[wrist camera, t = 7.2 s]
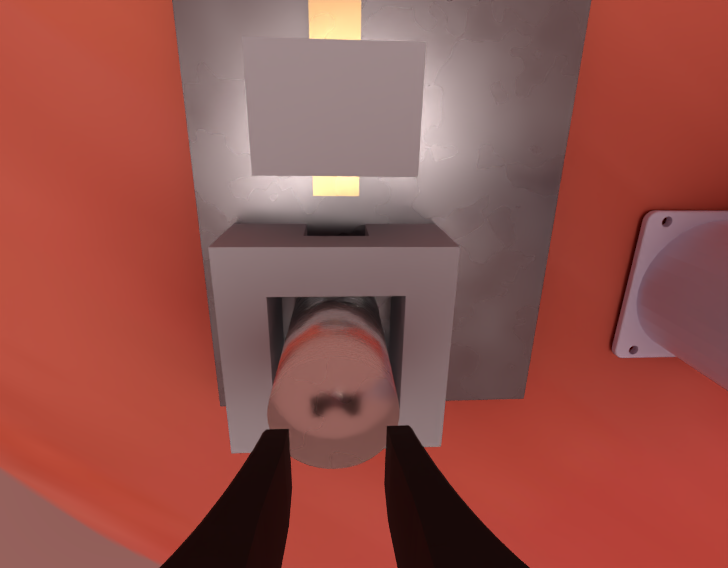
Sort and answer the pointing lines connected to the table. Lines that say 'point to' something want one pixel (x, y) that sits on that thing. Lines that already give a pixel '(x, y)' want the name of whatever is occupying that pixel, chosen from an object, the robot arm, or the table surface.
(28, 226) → the table surface
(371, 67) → the pin guide
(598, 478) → the table surface
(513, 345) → the base plate
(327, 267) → the socket
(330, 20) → the pin
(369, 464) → the table surface
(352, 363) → the peg
